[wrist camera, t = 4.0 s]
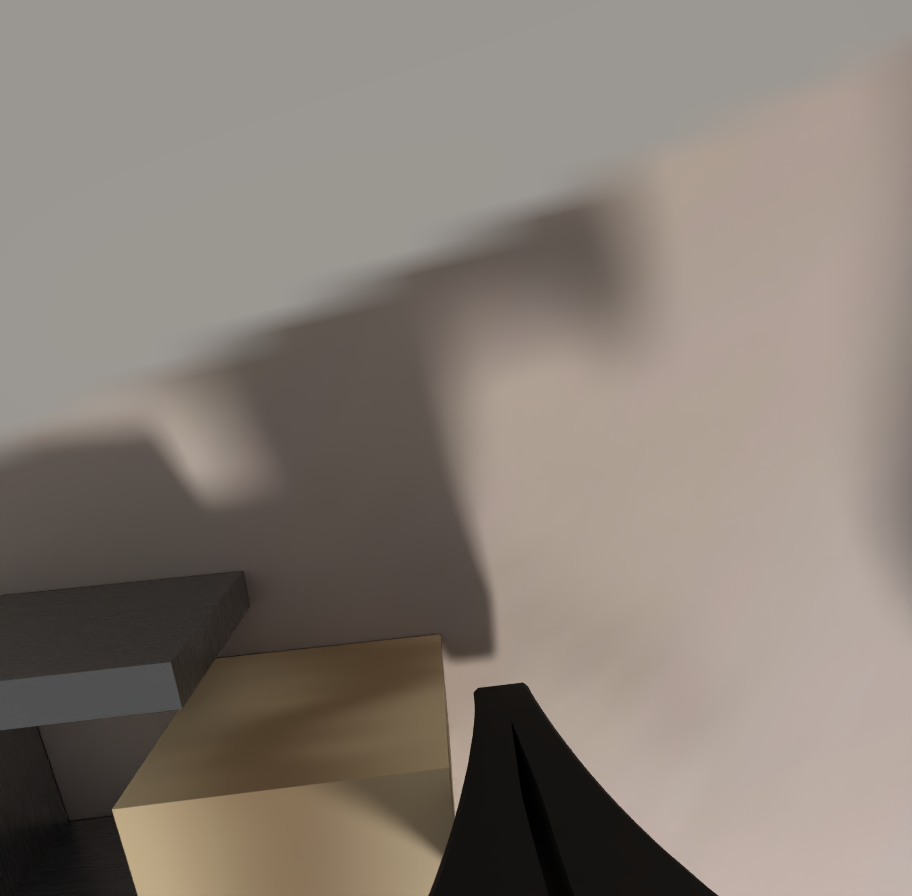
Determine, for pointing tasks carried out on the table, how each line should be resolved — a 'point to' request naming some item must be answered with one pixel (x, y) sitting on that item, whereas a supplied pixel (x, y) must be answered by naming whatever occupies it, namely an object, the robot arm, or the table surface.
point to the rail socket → (92, 707)
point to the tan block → (299, 777)
